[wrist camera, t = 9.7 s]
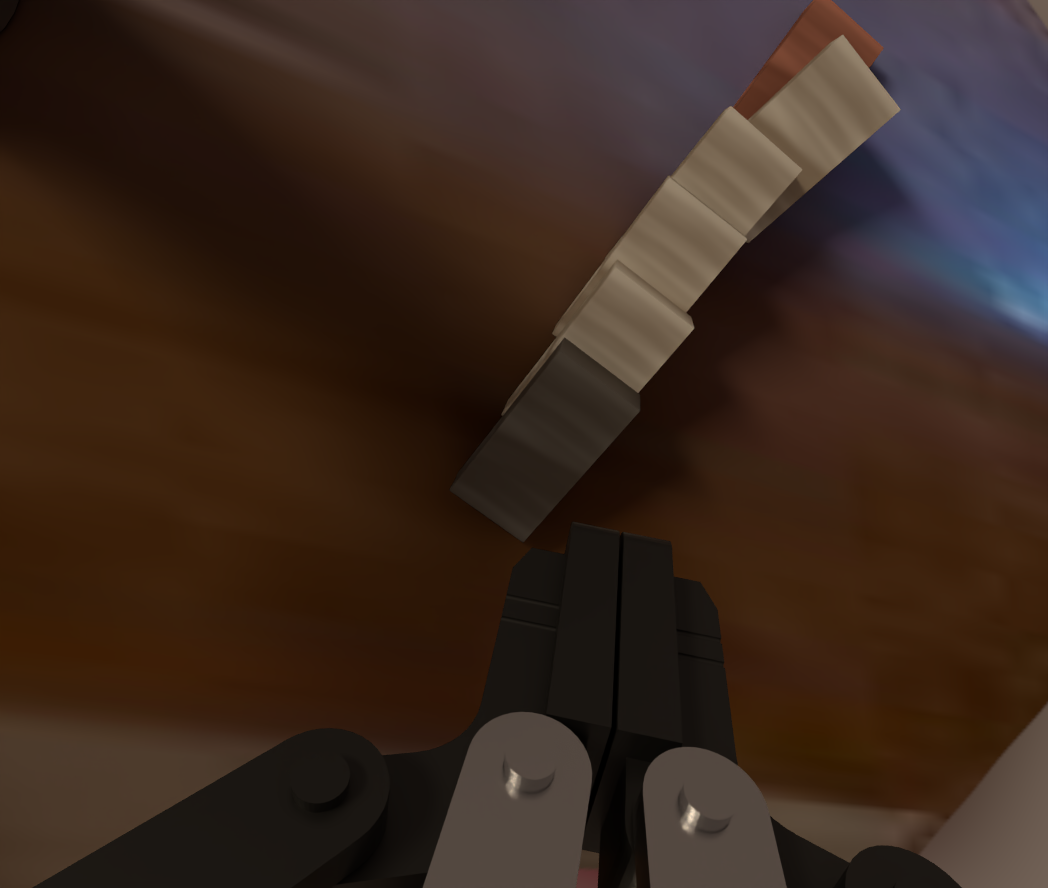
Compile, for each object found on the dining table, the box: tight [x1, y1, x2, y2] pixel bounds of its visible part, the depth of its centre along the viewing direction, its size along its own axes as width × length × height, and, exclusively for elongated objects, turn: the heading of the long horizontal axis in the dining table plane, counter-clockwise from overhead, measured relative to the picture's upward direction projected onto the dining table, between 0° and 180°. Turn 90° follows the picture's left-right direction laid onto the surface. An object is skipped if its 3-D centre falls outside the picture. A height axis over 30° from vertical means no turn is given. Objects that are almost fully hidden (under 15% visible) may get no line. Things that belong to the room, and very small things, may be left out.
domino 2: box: [552, 175, 747, 337], centre depth 40 cm, size 2×5×10 cm
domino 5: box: [733, 0, 883, 120], centre depth 44 cm, size 2×5×10 cm
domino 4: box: [450, 337, 640, 542], centre depth 39 cm, size 2×5×10 cm
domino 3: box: [501, 259, 694, 416], centre depth 39 cm, size 2×5×10 cm
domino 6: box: [745, 35, 901, 243], centre depth 41 cm, size 2×5×10 cm
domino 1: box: [605, 106, 802, 259], centre depth 41 cm, size 2×5×10 cm
